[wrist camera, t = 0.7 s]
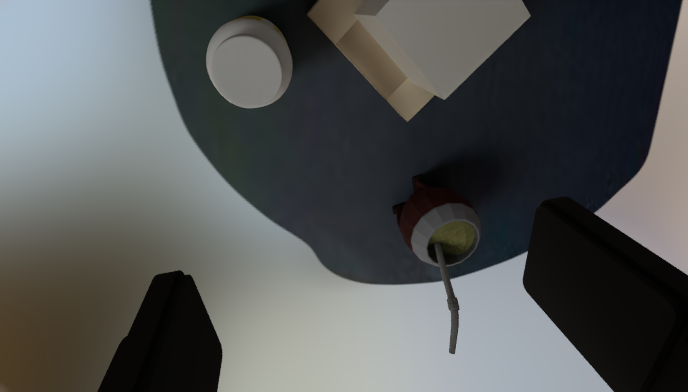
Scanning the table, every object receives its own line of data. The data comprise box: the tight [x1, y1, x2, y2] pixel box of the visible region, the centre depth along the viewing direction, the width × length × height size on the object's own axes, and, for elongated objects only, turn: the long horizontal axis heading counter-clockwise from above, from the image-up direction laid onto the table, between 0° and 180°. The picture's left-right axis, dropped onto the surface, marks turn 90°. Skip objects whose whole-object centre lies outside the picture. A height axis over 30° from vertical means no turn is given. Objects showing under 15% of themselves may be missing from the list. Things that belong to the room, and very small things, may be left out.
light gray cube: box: [353, 0, 531, 100], centre depth 24 cm, size 7×7×7 cm
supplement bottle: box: [206, 16, 292, 108], centre depth 24 cm, size 5×5×10 cm
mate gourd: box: [392, 176, 481, 354], centre depth 32 cm, size 8×8×15 cm
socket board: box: [306, 0, 434, 121], centre depth 28 cm, size 12×12×2 cm
